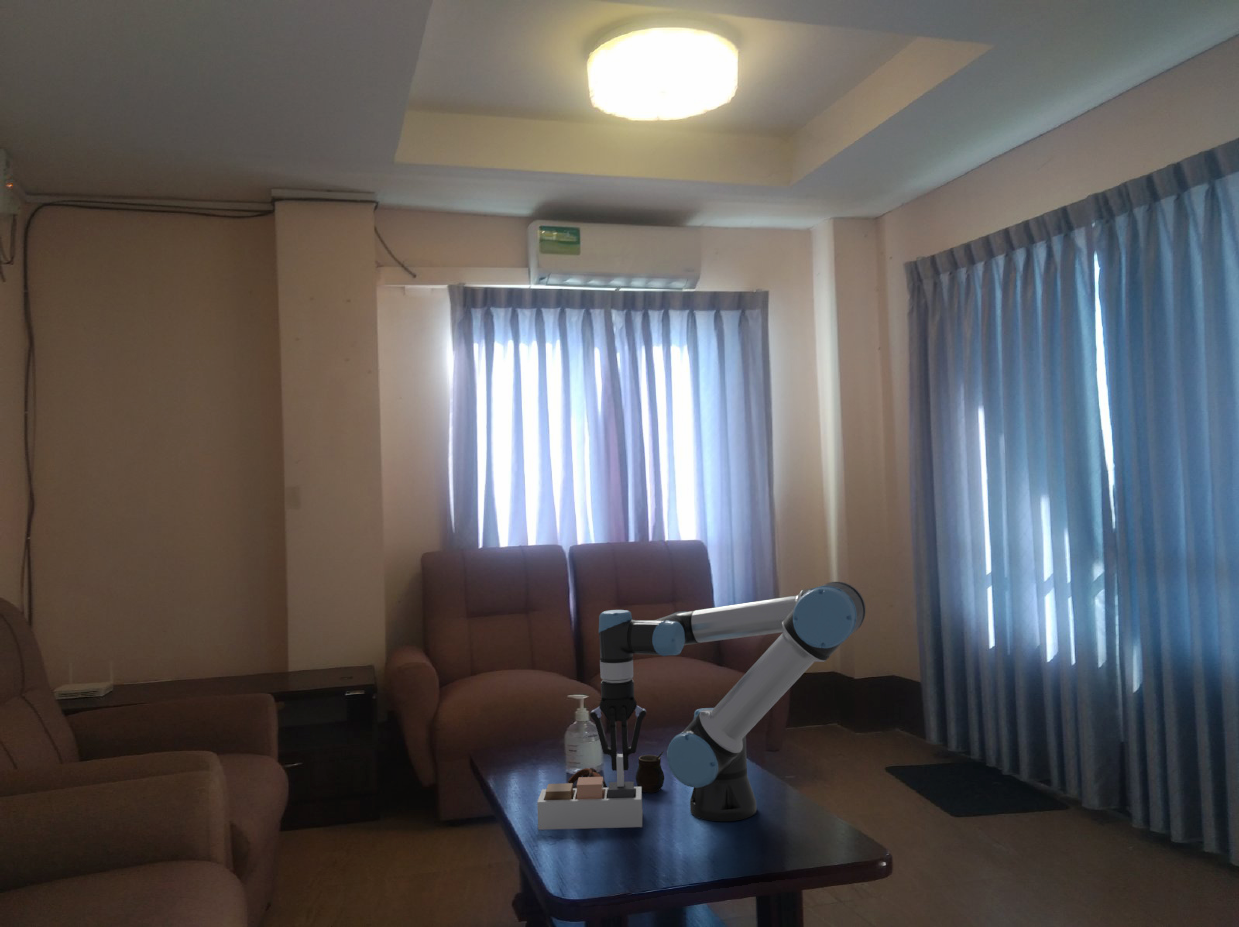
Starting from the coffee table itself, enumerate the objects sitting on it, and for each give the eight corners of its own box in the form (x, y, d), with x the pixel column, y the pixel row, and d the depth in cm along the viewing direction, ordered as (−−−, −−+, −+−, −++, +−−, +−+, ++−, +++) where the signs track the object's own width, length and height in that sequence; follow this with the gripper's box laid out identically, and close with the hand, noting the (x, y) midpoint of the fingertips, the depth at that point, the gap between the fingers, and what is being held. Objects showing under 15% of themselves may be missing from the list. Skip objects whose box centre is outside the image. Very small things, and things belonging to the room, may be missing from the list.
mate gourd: (640, 784, 231) (639, 744, 231) (669, 787, 228) (668, 746, 229) (631, 793, 224) (630, 752, 224) (661, 796, 222) (660, 754, 222)
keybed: (642, 812, 210) (641, 786, 210) (642, 826, 201) (641, 799, 201) (542, 815, 210) (542, 789, 211) (538, 829, 201) (537, 802, 202)
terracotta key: (603, 798, 208) (602, 776, 209) (602, 807, 203) (601, 784, 203) (579, 799, 209) (578, 777, 209) (577, 807, 203) (576, 785, 203)
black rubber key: (634, 803, 208) (633, 781, 208) (634, 812, 203) (633, 789, 203) (610, 804, 208) (609, 782, 209) (609, 812, 203) (608, 789, 203)
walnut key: (573, 805, 209) (572, 783, 209) (571, 813, 203) (570, 791, 203) (549, 806, 209) (548, 783, 209) (546, 814, 203) (545, 791, 203)
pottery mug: (612, 806, 216) (594, 779, 215) (577, 823, 218) (560, 796, 216) (614, 778, 228) (597, 752, 227) (581, 795, 229) (564, 769, 228)
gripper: (645, 675, 210) (649, 778, 209) (589, 676, 211) (593, 780, 210) (645, 681, 203) (649, 789, 202) (587, 683, 203) (590, 790, 202)
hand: (620, 784), depth 206 cm, fingers closed
